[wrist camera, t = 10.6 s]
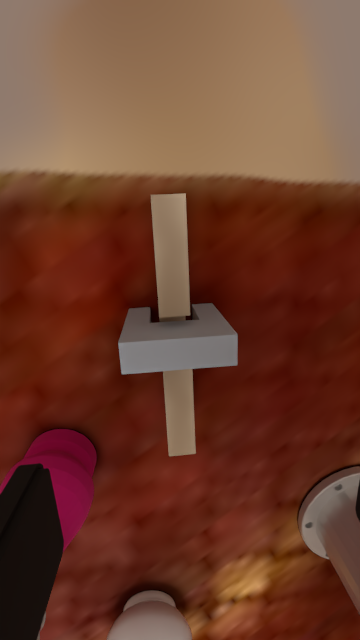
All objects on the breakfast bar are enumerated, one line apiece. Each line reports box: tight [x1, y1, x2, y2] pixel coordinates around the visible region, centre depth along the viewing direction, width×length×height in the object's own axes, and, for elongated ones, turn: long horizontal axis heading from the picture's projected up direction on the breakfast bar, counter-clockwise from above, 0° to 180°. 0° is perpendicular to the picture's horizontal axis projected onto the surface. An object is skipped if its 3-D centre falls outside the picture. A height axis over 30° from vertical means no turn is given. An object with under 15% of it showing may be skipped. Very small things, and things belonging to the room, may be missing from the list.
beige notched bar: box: [151, 194, 196, 456], centre depth 22 cm, size 2×18×6 cm, turn 3°
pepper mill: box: [0, 429, 97, 640], centre depth 19 cm, size 7×7×20 cm
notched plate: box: [118, 303, 238, 374], centre depth 21 cm, size 2×7×8 cm, turn 93°
